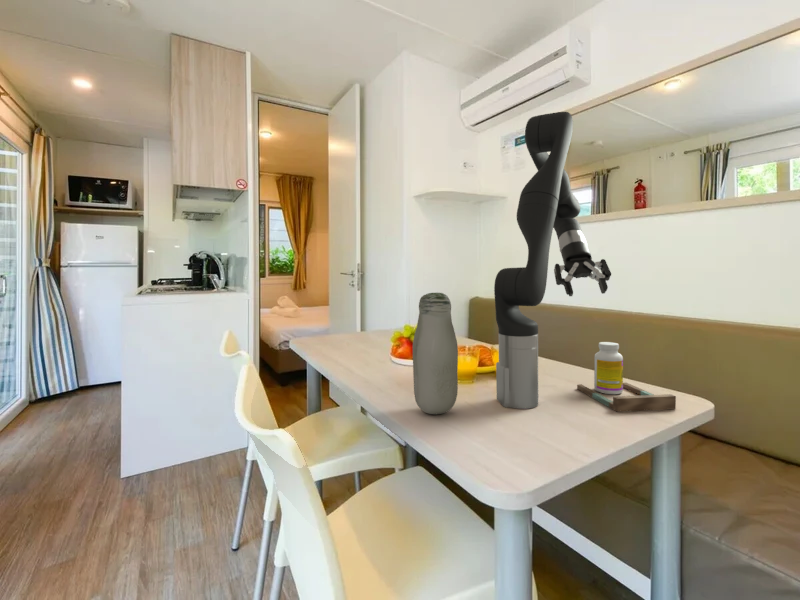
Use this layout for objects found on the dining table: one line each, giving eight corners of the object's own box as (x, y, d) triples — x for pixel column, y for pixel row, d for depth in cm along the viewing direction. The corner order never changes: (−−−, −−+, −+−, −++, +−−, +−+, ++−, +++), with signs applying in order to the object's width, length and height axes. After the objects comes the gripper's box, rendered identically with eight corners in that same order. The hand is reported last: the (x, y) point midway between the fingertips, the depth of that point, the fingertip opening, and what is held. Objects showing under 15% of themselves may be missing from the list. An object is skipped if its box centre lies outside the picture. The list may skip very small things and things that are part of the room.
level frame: (616, 411, 86) (617, 398, 86) (577, 388, 104) (577, 378, 103) (675, 409, 87) (675, 396, 87) (626, 386, 104) (626, 376, 104)
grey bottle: (432, 423, 82) (429, 294, 80) (406, 410, 91) (403, 293, 89) (467, 413, 87) (465, 292, 85) (439, 402, 96) (437, 291, 94)
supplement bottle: (626, 395, 97) (627, 345, 96) (598, 394, 98) (599, 345, 97) (617, 388, 103) (617, 341, 103) (591, 387, 105) (591, 341, 104)
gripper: (550, 243, 112) (562, 288, 103) (602, 237, 110) (619, 283, 101) (547, 259, 118) (558, 303, 109) (596, 254, 116) (611, 298, 107)
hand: (587, 293), depth 105 cm, fingers open, 8 cm apart
